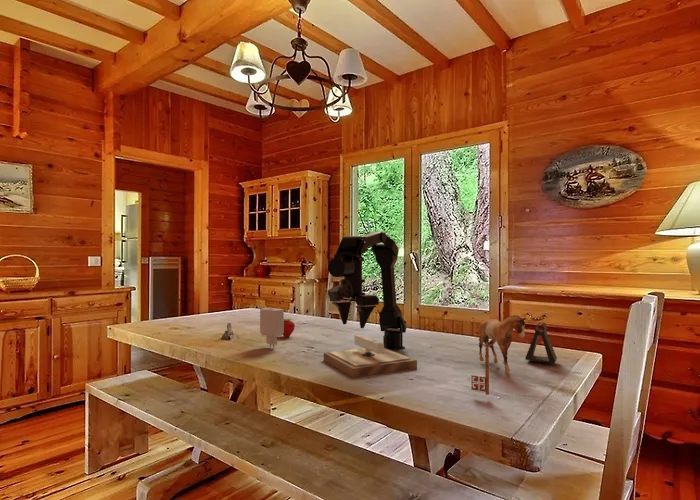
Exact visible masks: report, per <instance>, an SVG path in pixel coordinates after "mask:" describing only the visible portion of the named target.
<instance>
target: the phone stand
mask: <svg viewBox="0 0 700 500" xmlns="http://www.w3.org/2000/svg"><path fill="white" fill-rule="evenodd" d="M539 325H540V326H541V327H542V328H543V330H542V329H540V328H539ZM547 328H548V327H547V323H545V322H542V323H541V322H537V324H536V325H535V326H534V335H533V337H532V340H531V343H530V344H529V345H530V346H529V348H528V350H527V353H526V355H525V357H524V360H526V361H534V362H543V363H551V364H555V363H556V362H557V359H558V356H557V355H556V352H555V349H554V347H553V345H552V342H551V339H550V337H549V334H548V331H547ZM539 337H541V338H542V341H543V346H544V349H545V352H546V355H547V356H541V355H535V351H536V348H537V346H538V341H539Z"/></svg>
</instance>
